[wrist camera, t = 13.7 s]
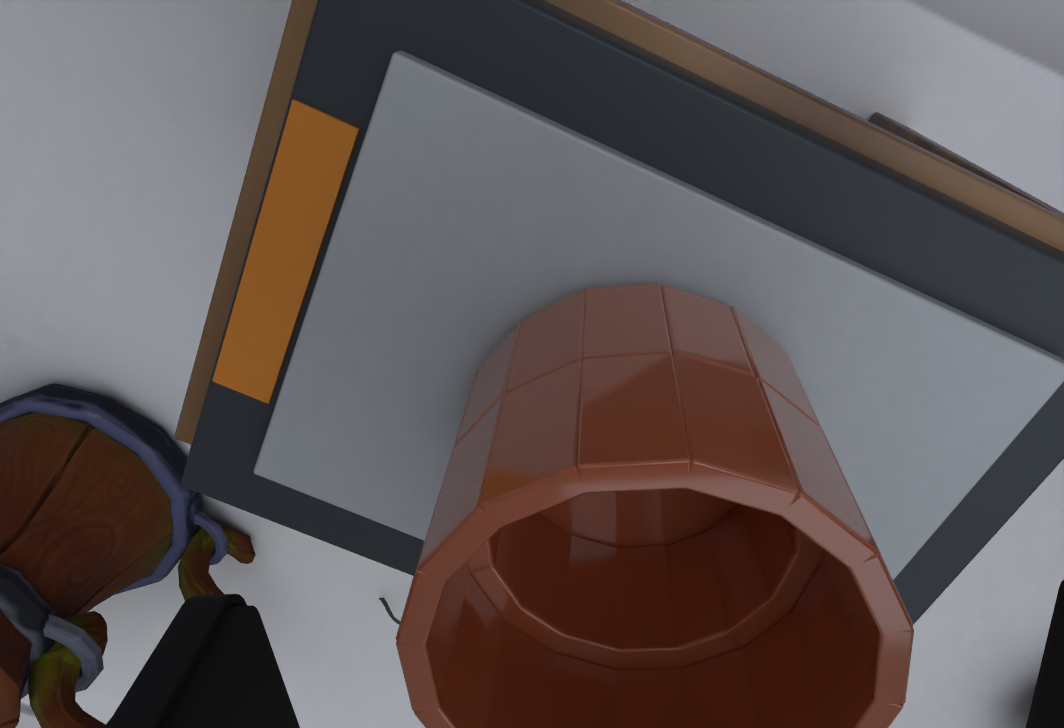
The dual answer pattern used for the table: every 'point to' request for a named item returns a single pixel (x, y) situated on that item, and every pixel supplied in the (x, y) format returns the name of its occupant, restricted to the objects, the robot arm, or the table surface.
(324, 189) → the scale
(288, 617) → the table surface
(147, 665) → the robot arm
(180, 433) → the stand
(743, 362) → the flower pot
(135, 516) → the mug
